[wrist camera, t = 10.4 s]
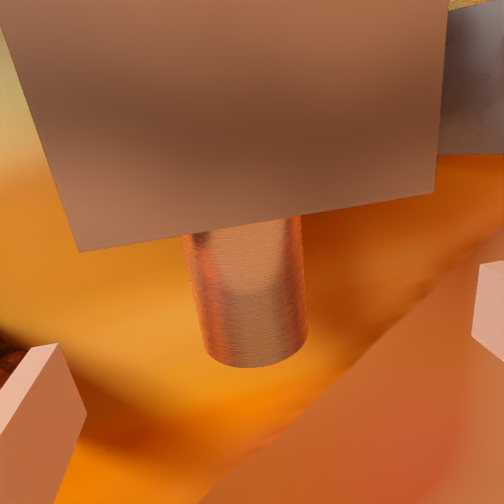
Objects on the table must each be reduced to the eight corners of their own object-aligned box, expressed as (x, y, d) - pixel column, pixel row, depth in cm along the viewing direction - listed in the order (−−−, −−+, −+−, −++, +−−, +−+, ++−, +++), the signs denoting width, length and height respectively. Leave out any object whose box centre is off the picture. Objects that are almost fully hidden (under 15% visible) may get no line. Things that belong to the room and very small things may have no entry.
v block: (317, 37, 20) (369, 5, 14) (477, 17, 21) (591, -21, 15) (323, 162, 23) (368, 180, 17) (464, 140, 23) (556, 150, 17)
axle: (128, -74, 14) (82, -180, 9) (264, -86, 14) (295, -194, 9) (203, 312, 21) (202, 377, 16) (294, 297, 21) (321, 356, 16)
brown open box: (96, -29, 17) (-127, -341, 5) (292, -49, 18) (475, -355, 6) (145, 173, 21) (79, 252, 9) (305, 149, 22) (434, 193, 10)
